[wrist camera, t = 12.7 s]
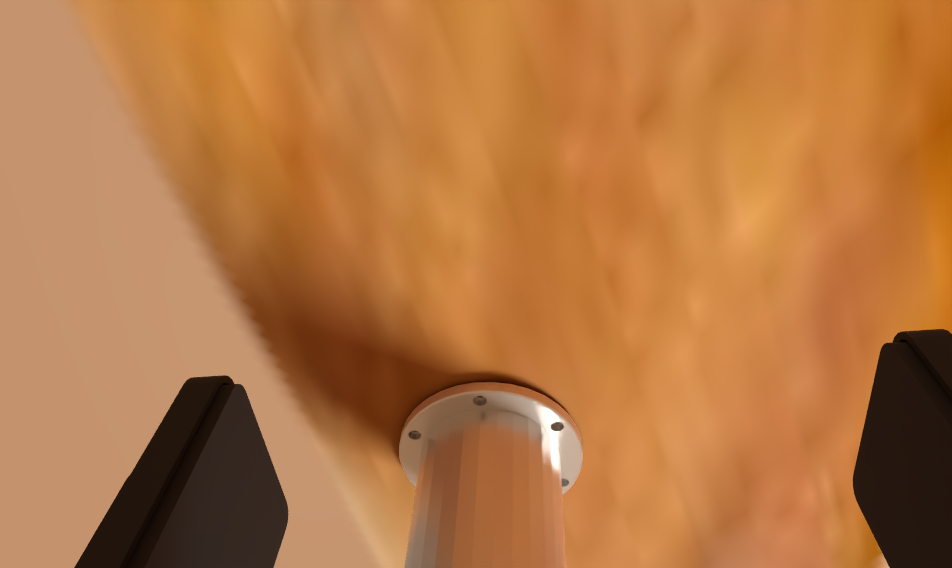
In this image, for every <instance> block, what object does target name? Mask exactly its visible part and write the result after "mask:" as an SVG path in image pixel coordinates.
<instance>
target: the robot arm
mask: <svg viewBox="0 0 952 568" xmlns="http://www.w3.org/2000/svg"><path fill="white" fill-rule="evenodd" d="M399 459H400V462H401V466H402V469H403V471H404V473H405V474H406V476H407V478H408V480H409V481H410V482H411V483H412V484H413V485H414V487H415V488H416V491H415V498H414V505H413V512H412V519H411V526H410V533H409V540H408V546H407V553H406V560H405V567H404V568H567V567H566V550H565V533H564V516H563V499H562V495H563V494H565V493H566V492H567V491H568V490H569V489H570V488H571V487H572V485H573V484H574V482H575V481H576V479H577V478H578V475H579V473H580V470H581V467H582V459H583V450H582V441H581V436H580V434H579V431H578V428H577V426H576V424H575V423H574V421H573V420H572V418H571V417H570V415H569V414H568V413H567V412H566V411H565V410H564V409H563V408H562V407H561V406H560V405H559V404H557V403H556V402H554V401H552V400H551V399H549V398H548V397H546V396H545V395H543V394H540V393H538V392H536V391H533V390H531V389H529V388H525V387H521V386H517V385H513V384H507V383H498V382H474V383H468V384H463V385H457V386H454V387H451V388H448V389H445V390H442V391H440V392H438V393H436V394H434V395H432V396H431V397H429V398H427V399H426V400H424V401H423V402H422V403H421V404H420V405H418V406H417V407H416V408H415V409H414V410H413V412H412V413H411V414H410V415H409V417H408V418H407V420H406V422H405V424H404V427H403V429H402V432H401V438H400V443H399ZM853 489H854V494H855V497H856V500H857V503H858V505H859V507H860V509H861V511H862V513H863V515H864V517H865V519H866V521H867V523H868V525H869V527H870V529H871V531H872V533H873V535H874V537H875V539H876V541H877V543H878V545H879V547H880V549H881V551H882V553H883V555H884V557H885V559H886V561H887V563H888V565H889V567H890V568H952V334H951V333H950V332H949V331H947V330H944V329H936V330H920V331H905V332H900V333H898V334H897V335H896V336H895V337H894V340H893V343H886V344H884V345H883V346H882V348H881V351H880V355H879V360H878V365H877V369H876V374H875V378H874V383H873V387H872V392H871V397H870V401H869V406H868V410H867V415H866V420H865V424H864V429H863V433H862V438H861V442H860V447H859V452H858V456H857V461H856V465H855V470H854V474H853ZM287 522H288V506H287V502H286V499H285V496H284V493H283V491H282V488H281V485H280V483H279V480H278V477H277V475H276V472H275V469H274V466H273V464H272V461H271V458H270V456H269V453H268V450H267V447H266V445H265V442H264V439H263V437H262V434H261V431H260V428H259V426H258V423H257V421H256V418H255V415H254V413H253V410H252V407H251V404H250V401H249V399H248V396H247V393H246V391H245V389H244V387H243V386H242V385H240V384H234V382H233V380H232V379H231V378H230V377H228V376H210V377H194V378H190V379H188V380H187V381H186V382H185V383H184V385H183V386H182V388H181V390H180V391H179V394H178V395H177V397H176V398H175V400H174V402H173V403H172V405H171V407H170V409H169V410H168V412H167V413H166V415H165V417H164V419H163V420H162V422H161V424H160V425H159V427H158V429H157V431H156V432H155V434H154V436H153V437H152V439H151V441H150V442H149V444H148V446H147V448H146V449H145V451H144V453H143V454H142V456H141V458H140V459H139V461H138V463H137V464H136V466H135V468H134V470H133V471H132V473H131V474H130V476H129V477H128V478H127V480H126V481H125V483H124V485H123V486H122V488H121V490H120V491H119V493H118V495H117V496H116V498H115V500H114V502H113V503H112V505H111V507H110V508H109V510H108V512H107V513H106V515H105V517H104V518H103V520H102V522H101V523H100V525H99V527H98V529H97V530H96V532H95V534H94V535H93V537H92V539H91V540H90V542H89V544H88V546H87V547H86V549H85V551H84V552H83V554H82V556H81V557H80V559H79V561H78V562H77V564H76V566H75V567H74V568H273V567H274V564H275V561H276V558H277V554H278V551H279V548H280V546H281V542H282V539H283V536H284V533H285V530H286V527H287Z"/></svg>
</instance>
